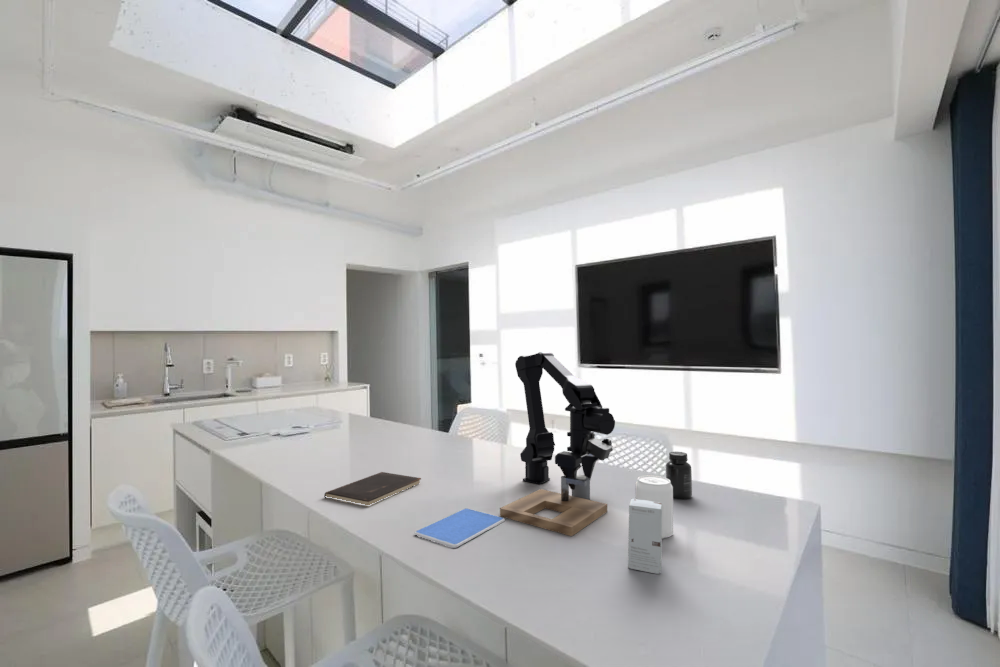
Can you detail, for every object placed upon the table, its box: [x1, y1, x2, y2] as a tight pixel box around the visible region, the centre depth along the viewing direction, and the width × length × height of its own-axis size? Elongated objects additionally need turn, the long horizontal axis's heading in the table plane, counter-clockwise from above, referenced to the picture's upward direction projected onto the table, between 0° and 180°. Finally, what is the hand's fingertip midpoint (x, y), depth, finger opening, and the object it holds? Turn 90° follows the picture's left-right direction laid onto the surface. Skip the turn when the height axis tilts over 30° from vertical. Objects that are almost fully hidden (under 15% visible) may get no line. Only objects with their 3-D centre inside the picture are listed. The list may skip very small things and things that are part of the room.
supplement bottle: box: [665, 451, 693, 500], centre depth 131 cm, size 7×7×12 cm
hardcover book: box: [323, 471, 422, 505], centre depth 135 cm, size 16×23×2 cm
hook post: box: [560, 475, 587, 501], centre depth 119 cm, size 7×2×6 cm, turn 53°
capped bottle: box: [571, 474, 591, 500], centre depth 128 cm, size 5×5×6 cm
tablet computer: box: [413, 508, 506, 549], centre depth 108 cm, size 19×13×1 cm, turn 146°
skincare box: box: [627, 498, 663, 575], centre depth 89 cm, size 6×4×12 cm
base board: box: [499, 488, 608, 537], centre depth 116 cm, size 20×19×2 cm
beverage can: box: [634, 474, 674, 539], centre depth 105 cm, size 8×8×12 cm
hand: (580, 485), depth 128 cm, fingers open, 9 cm apart
